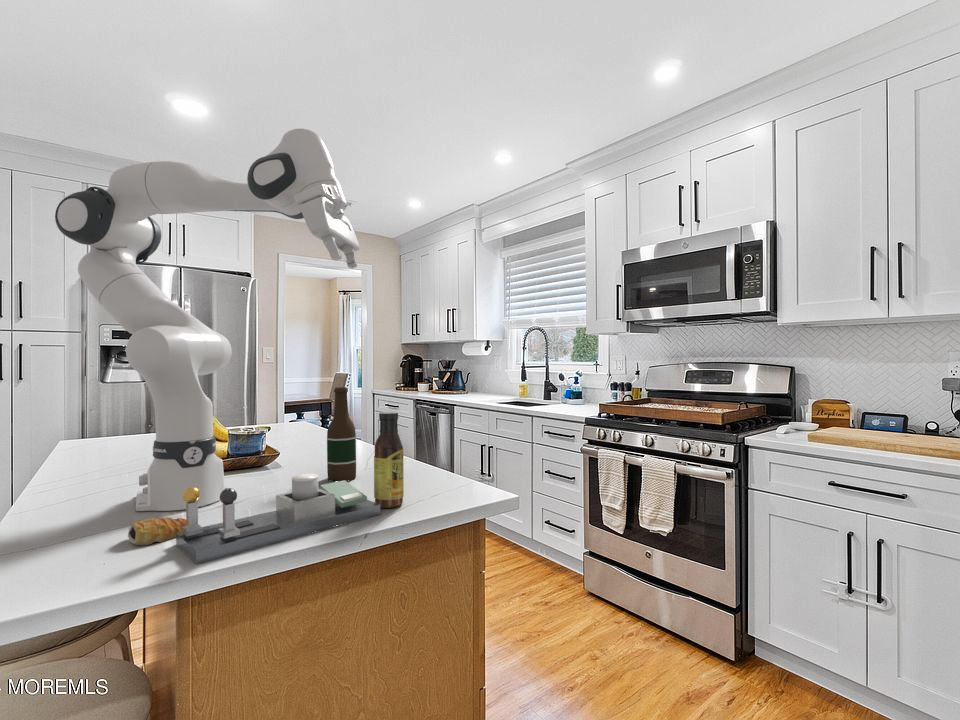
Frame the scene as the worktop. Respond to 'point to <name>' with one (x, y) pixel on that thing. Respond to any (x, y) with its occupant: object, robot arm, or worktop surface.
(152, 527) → the pastry
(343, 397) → the beer bottle
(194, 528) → the slider
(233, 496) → the slider
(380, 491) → the sauce bottle
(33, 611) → the worktop surface
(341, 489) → the rocker
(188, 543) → the board
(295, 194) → the robot arm
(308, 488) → the button
